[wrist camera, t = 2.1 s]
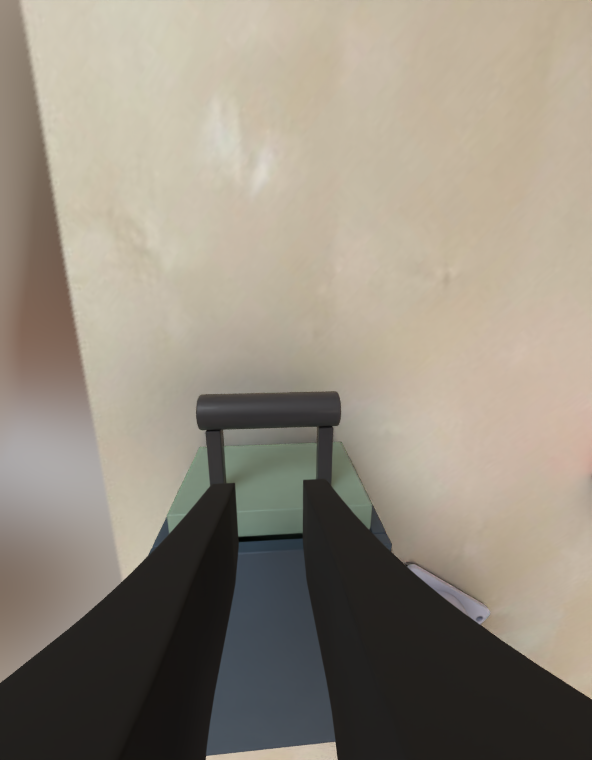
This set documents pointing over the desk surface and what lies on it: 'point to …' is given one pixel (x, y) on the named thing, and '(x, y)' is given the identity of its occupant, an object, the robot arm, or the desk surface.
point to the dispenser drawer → (270, 462)
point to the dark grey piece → (271, 653)
